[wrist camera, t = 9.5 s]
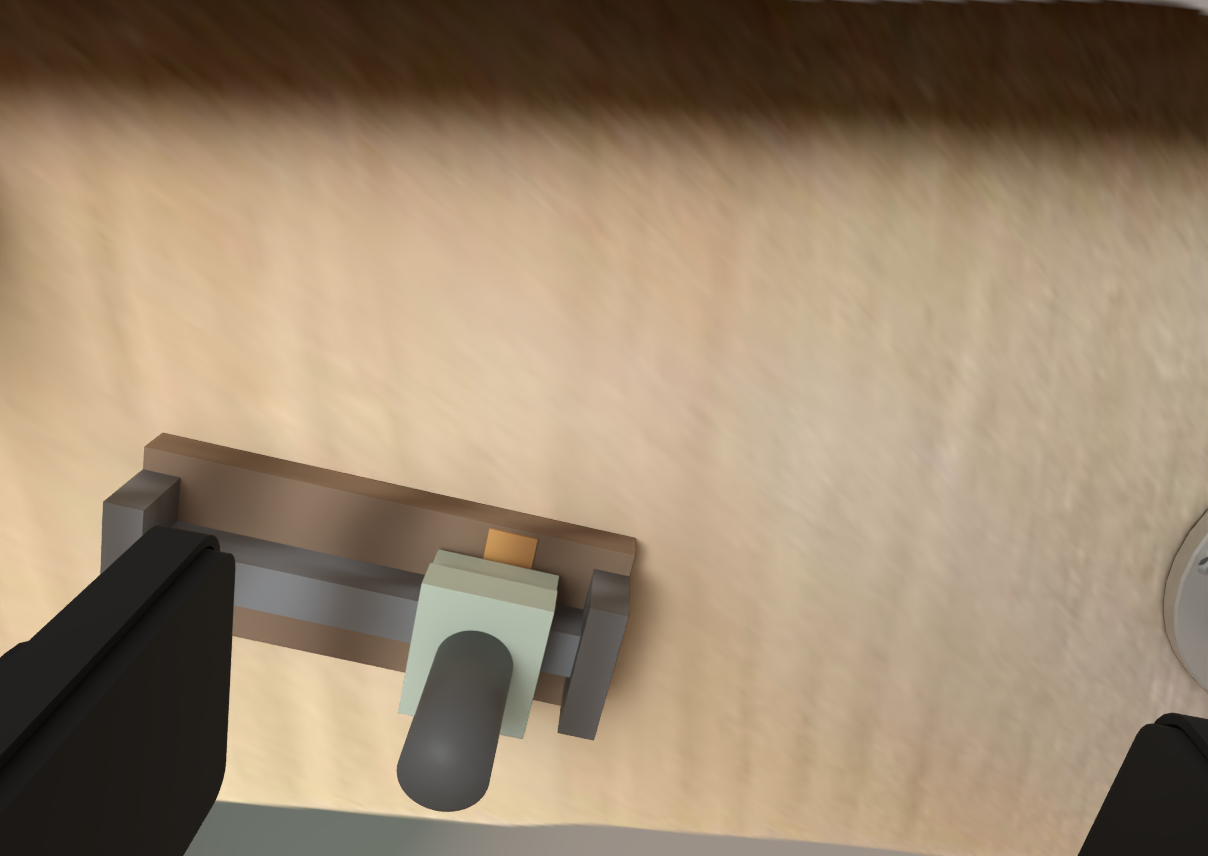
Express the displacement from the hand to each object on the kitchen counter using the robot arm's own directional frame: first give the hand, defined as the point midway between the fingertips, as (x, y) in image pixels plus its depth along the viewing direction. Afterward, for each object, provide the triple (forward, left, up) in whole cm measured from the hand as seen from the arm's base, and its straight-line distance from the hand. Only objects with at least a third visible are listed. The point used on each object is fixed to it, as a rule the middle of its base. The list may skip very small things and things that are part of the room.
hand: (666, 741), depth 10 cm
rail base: (+8, +16, -27) cm, 32 cm away
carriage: (+3, +16, -26) cm, 30 cm away
